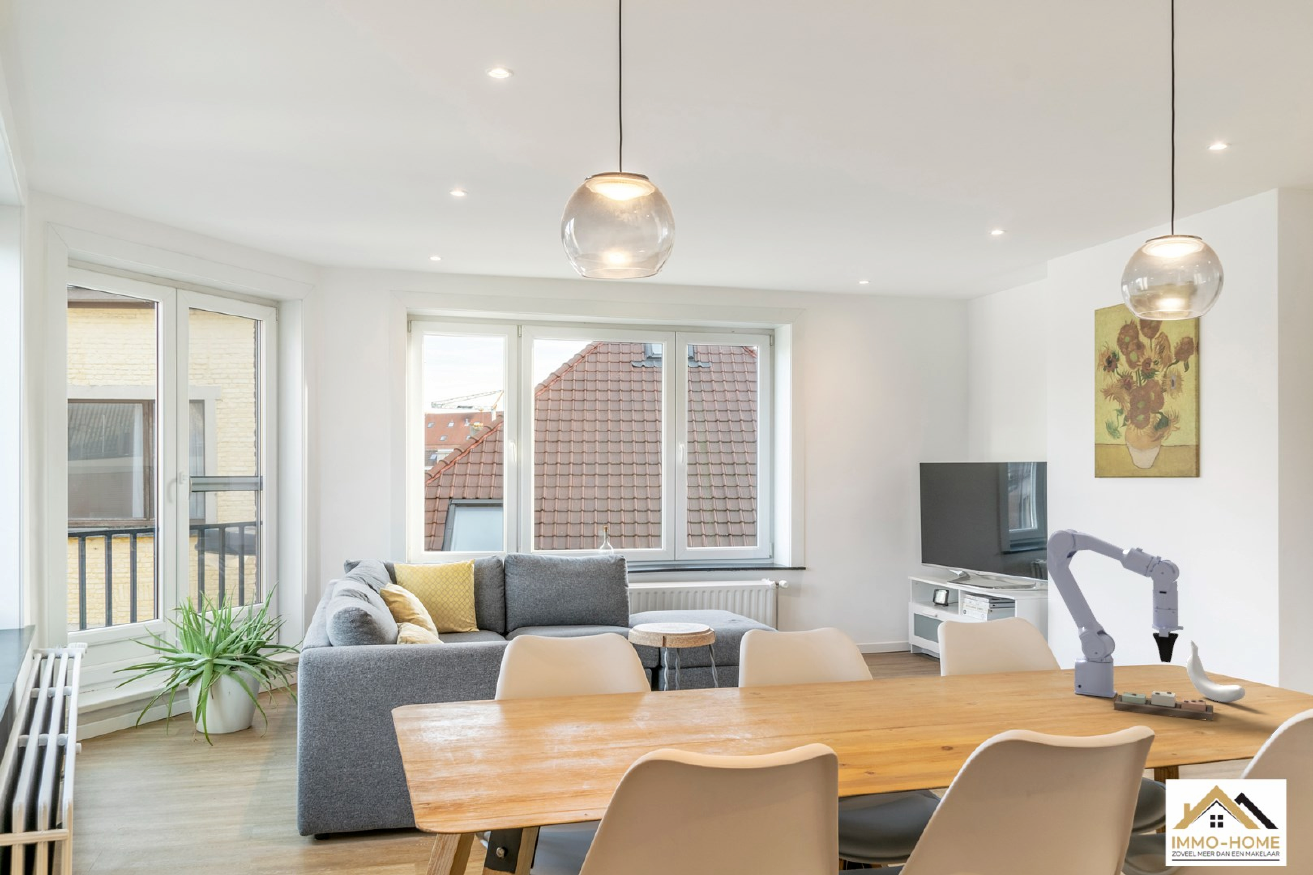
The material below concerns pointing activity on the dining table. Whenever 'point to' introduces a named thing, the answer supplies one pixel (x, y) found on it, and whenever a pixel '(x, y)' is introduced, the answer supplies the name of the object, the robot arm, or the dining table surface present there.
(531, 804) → the dining table surface
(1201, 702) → the tile three
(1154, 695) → the tile two
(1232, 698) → the banana
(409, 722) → the dining table surface
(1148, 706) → the dice tray
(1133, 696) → the tile one
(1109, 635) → the robot arm
